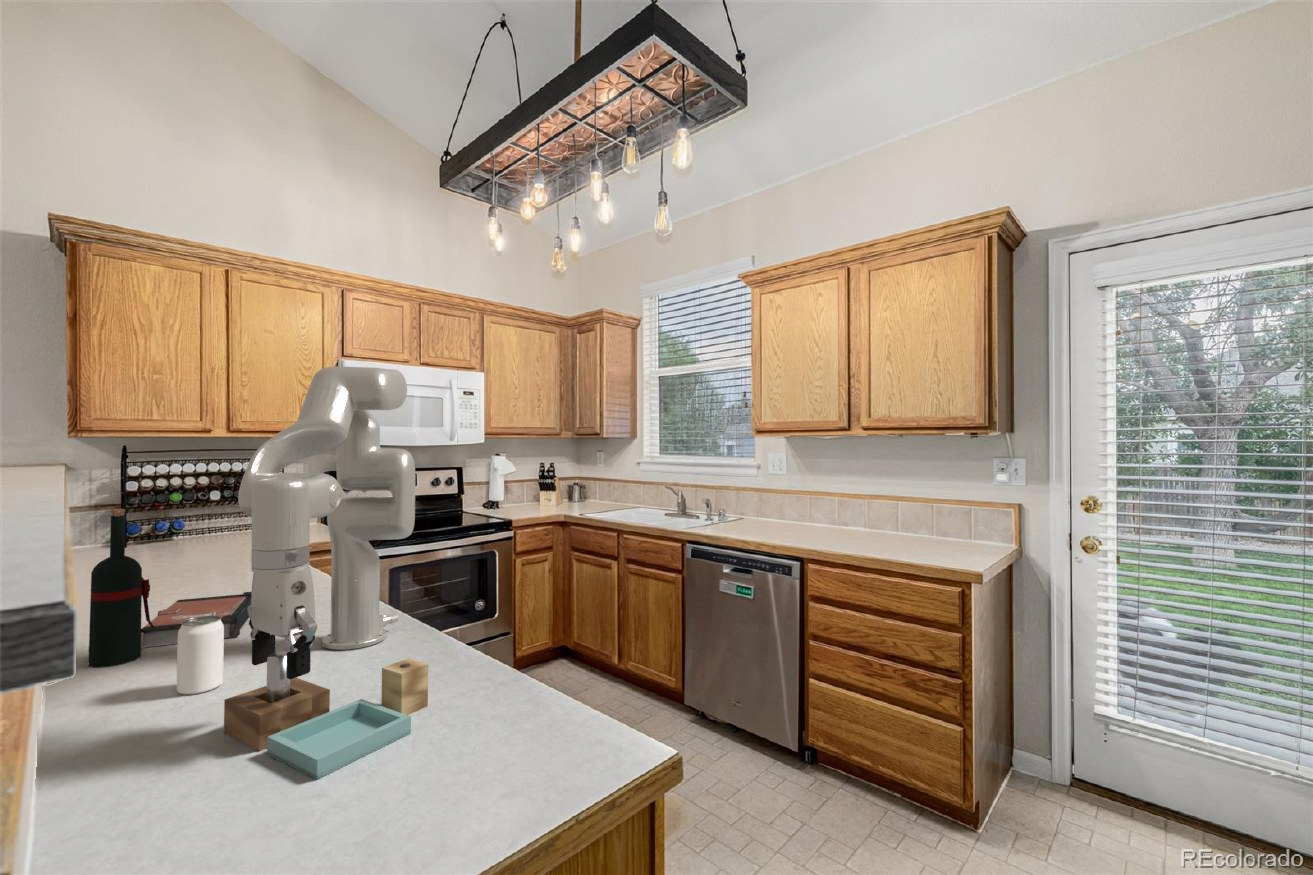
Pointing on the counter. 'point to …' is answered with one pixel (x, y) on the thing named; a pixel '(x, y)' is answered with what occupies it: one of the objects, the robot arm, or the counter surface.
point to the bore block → (272, 712)
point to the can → (200, 655)
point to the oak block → (405, 686)
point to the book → (170, 619)
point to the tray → (338, 737)
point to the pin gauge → (277, 677)
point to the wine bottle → (116, 603)
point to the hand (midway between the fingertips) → (280, 668)
